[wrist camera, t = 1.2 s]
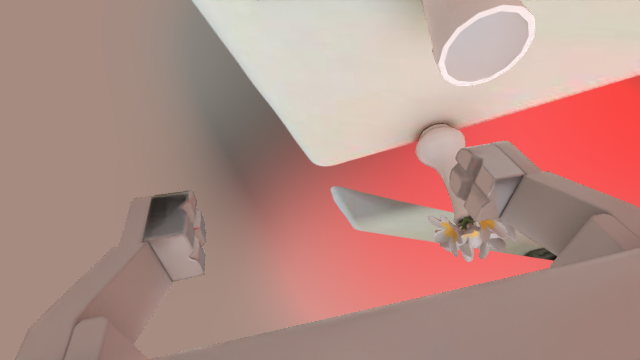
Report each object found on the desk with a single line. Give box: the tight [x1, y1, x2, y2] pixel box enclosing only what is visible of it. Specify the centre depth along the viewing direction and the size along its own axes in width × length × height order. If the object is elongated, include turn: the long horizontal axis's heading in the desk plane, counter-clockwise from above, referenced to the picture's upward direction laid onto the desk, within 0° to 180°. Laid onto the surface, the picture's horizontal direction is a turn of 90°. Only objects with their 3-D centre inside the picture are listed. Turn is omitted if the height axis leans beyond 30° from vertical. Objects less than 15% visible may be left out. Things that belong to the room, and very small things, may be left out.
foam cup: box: [422, 0, 535, 86], centre depth 37 cm, size 10×9×13 cm
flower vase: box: [415, 124, 517, 262], centre depth 59 cm, size 13×18×25 cm
